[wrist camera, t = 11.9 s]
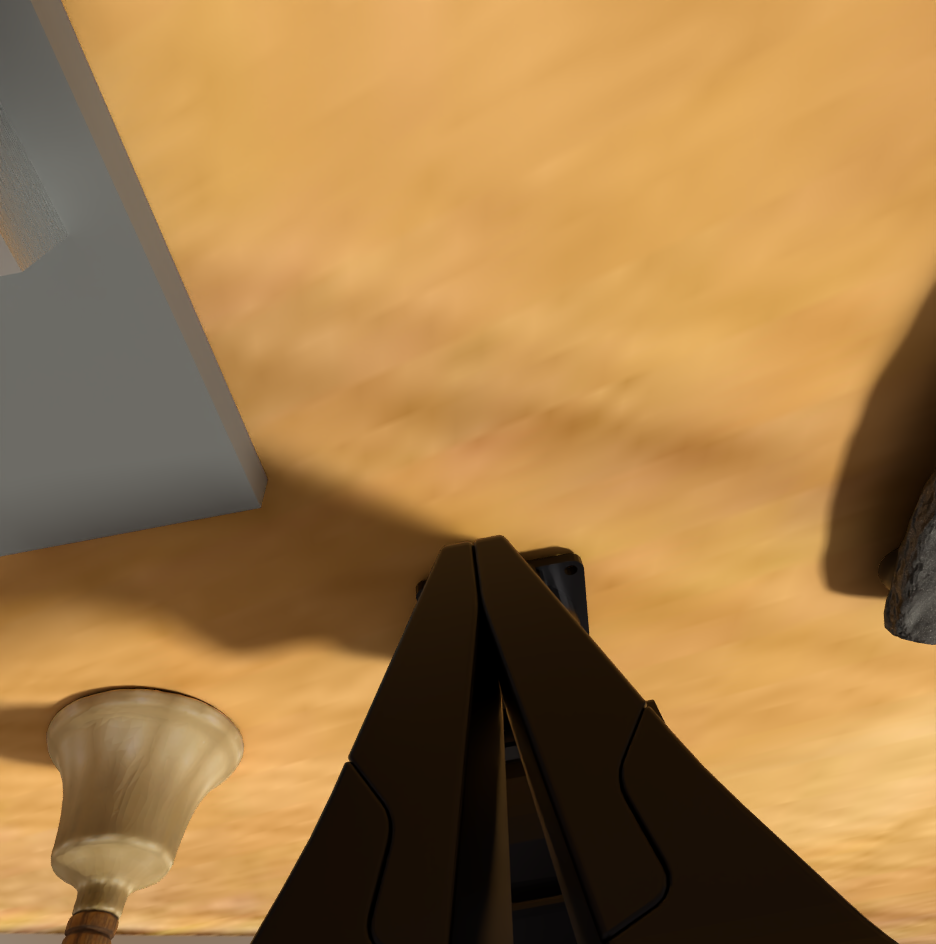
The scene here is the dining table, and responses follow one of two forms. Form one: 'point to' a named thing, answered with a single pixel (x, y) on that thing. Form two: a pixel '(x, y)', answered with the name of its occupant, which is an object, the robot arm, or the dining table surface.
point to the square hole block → (23, 207)
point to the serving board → (913, 574)
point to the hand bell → (130, 793)
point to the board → (101, 330)
